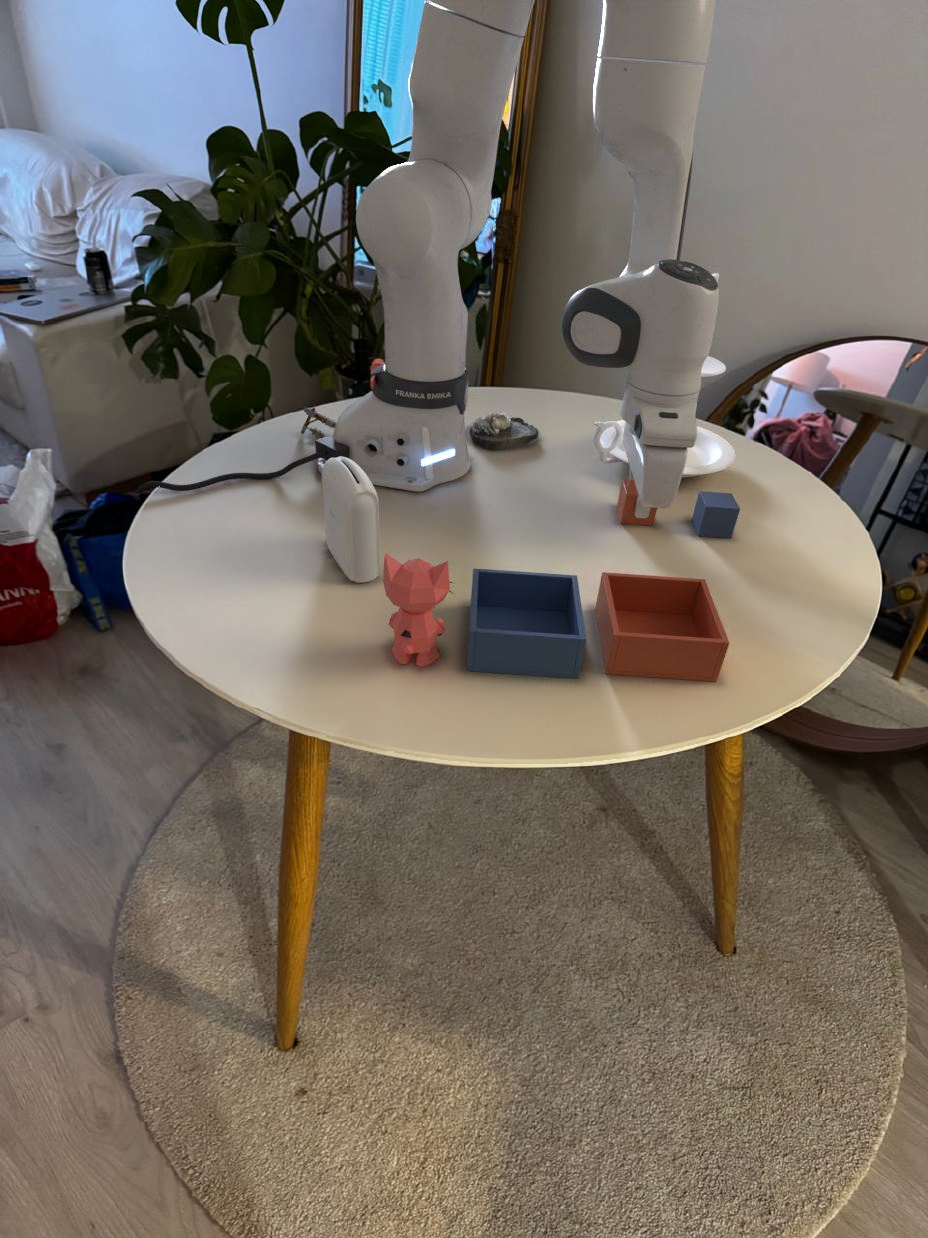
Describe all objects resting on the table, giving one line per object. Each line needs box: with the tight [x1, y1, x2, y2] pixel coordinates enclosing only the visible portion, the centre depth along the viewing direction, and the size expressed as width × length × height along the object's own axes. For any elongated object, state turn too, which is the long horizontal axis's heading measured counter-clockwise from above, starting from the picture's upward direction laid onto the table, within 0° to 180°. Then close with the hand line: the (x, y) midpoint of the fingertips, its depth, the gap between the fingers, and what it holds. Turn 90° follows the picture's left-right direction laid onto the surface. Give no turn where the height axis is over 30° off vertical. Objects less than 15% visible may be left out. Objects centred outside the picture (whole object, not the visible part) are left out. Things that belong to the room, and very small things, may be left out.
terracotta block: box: [616, 478, 658, 527], centre depth 102 cm, size 4×4×4 cm
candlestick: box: [593, 272, 737, 478], centre depth 108 cm, size 21×25×28 cm
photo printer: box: [321, 456, 381, 583], centre depth 86 cm, size 10×4×12 cm, turn 26°
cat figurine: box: [382, 552, 456, 668], centre depth 73 cm, size 7×7×12 cm
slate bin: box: [466, 567, 587, 679], centre depth 78 cm, size 11×11×5 cm
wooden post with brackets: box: [300, 407, 337, 438], centre depth 118 cm, size 2×8×4 cm, turn 89°
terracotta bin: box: [594, 571, 730, 683], centre depth 79 cm, size 11×11×5 cm
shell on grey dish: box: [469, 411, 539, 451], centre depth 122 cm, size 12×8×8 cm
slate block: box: [691, 490, 741, 539], centre depth 100 cm, size 4×4×4 cm
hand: (637, 505), depth 102 cm, fingers closed on terracotta block, 4 cm apart
